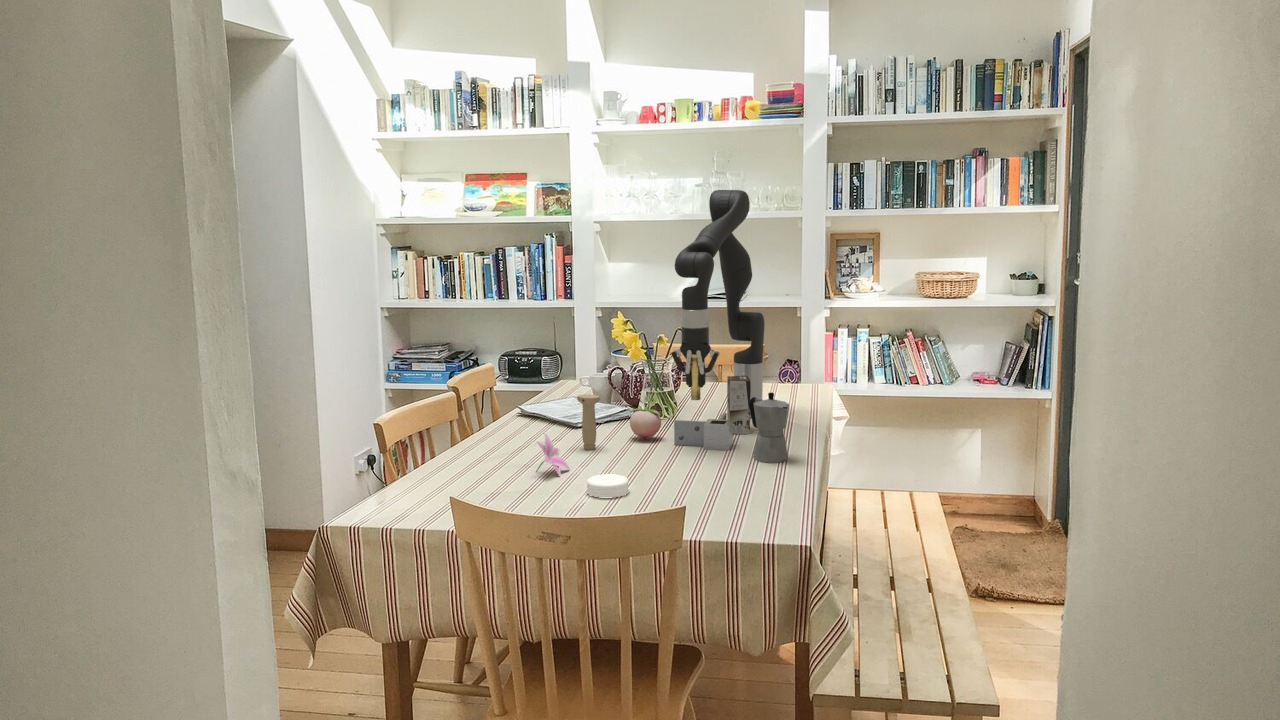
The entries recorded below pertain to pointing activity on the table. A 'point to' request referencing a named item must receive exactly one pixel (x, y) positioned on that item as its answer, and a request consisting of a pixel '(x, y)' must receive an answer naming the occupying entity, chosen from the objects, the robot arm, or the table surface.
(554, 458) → the lily
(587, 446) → the handle
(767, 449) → the coffeepot
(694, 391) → the hinge pin
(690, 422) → the grey corner bracket
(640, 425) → the decorative fruit
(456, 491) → the table surface
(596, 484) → the white round disc
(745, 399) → the coffee box
